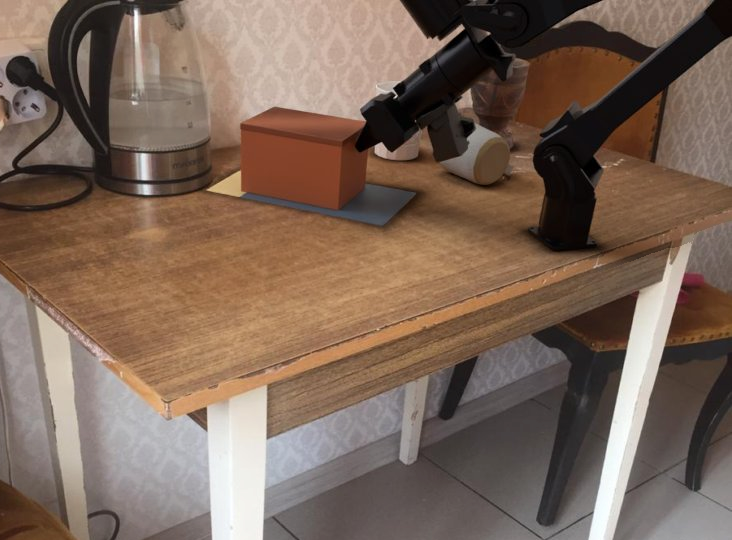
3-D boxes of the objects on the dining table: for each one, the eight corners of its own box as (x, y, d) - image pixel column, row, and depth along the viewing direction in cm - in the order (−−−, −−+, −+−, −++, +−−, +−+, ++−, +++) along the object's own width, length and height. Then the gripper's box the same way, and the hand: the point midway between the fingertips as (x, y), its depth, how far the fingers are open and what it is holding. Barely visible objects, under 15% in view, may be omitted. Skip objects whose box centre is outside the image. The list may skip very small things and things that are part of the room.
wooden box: (365, 188, 119) (370, 122, 114) (338, 210, 111) (342, 140, 106) (273, 170, 123) (274, 106, 118) (240, 191, 115) (240, 123, 110)
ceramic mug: (473, 191, 121) (482, 135, 117) (433, 174, 126) (440, 120, 122) (524, 181, 126) (534, 128, 122) (484, 165, 132) (492, 113, 128)
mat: (416, 194, 119) (417, 192, 119) (383, 227, 108) (383, 225, 108) (253, 163, 126) (253, 162, 126) (205, 191, 115) (205, 190, 115)
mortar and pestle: (486, 160, 134) (506, 21, 123) (441, 147, 138) (457, 12, 128) (525, 146, 141) (547, 15, 131) (481, 134, 146) (499, 6, 135)
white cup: (431, 156, 134) (439, 89, 128) (399, 165, 129) (406, 96, 123) (393, 143, 138) (398, 78, 133) (360, 152, 133) (364, 85, 128)
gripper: (471, 147, 96) (370, 222, 105) (507, 111, 111) (416, 179, 120) (411, 64, 94) (314, 147, 103) (456, 38, 109) (368, 113, 118)
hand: (357, 149), depth 111 cm, fingers closed
